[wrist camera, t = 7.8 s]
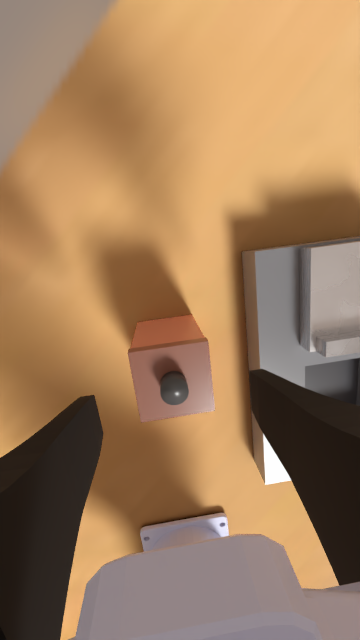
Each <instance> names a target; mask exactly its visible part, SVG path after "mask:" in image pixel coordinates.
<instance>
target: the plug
mask: <svg viewBox="0 0 360 640" xmlns="http://www.w3.org/2000/svg"><path fill="white" fill-rule="evenodd" d="M128 357H129V362H130V367H131V373H132V378H133V383H134V388H135V394H136V399H137V404H138V409H139V415H140V420H141V422H148V421H154V420H160V419H166V418H172V417H179V416H185V415H191V414H197V413H203V412H210V411H215V405H214V395H213V385H212V375H211V365H210V355H209V345H208V340H207V338H206V337H204V335H203V334H202V332H201V330H200V328H199V326H198V325H197V323H196V321H195V319H194V317H193V316H192V314H191V315H184V316H177V317H170V318H163V319H156V320H149V321H142V322H137V326H136V330H135V333H134V337H133V341H132V344H131V348H130V349H129V350H128Z"/></svg>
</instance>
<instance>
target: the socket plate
mask: <svg viewBox="0 0 360 640" xmlns="http://www.w3.org/2000/svg"><path fill="white" fill-rule="evenodd" d="M359 240H360V236H356V237H348V238H341V239H333V240H325V241H318V242H310V243H303V244H295V245H288V246H280V247H272V248H265V249H257V250H250V251H242V264H243V281H244V297H245V314H246V331H247V348H248V365H249V371H251V370H257V369H264V370H267V371H269V372H271V373H273V374H276V375H278V376H280V377H282V378H284V379H286V380H288V381H290V382H293V383H295V384H297V385H299V386H302V387H304V388H306V389H309V390H312V391H314V392H317V393H319V394H322V395H325V396H328V397H331V398H334V399H337V400H340V401H344V402H347V403H351V404H354V405H359V406H360V352H359V353H353V354H346V355H340V356H333V357H327V358H326V357H324V356H323V355H321V354H319V353H318V352H316V351H315V352H309V351H307V350H306V349H304V348H303V347H301V346H300V248H307V247H314V246H322V245H329V244H337V243H344V242H352V241H359ZM249 382H250V377H249ZM250 399H251V394H250ZM251 416H252V433H253V450H254V461H255V463H256V465H257V468H258V470H259V472H260V474H261V476H262V478H263V480H264V483H265V485H267V484H273V483H278V482H284V481H290V480H291V479H290V477H289V475H288V473H287V472H286V470H285V468H284V467H283V465H282V463H281V462H280V460H279V458H278V457H277V455H276V454H275V452H274V450H273V449H272V447H271V446H270V444H269V442H268V441H267V439H266V437H265V436H264V434H263V432H262V431H261V429H260V427H259V425H258V423H257V421H256V419H255V416H254V414H253V412H252V409H251Z"/></svg>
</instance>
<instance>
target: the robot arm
mask: <svg viewBox="0 0 360 640" xmlns="http://www.w3.org/2000/svg"><path fill="white" fill-rule="evenodd" d="M249 377H250V394H251V409H252V412H253V414H254V416H255V419H256V421H257V423H258V425H259V427H260V429H261V431H262V432H263V434H264V436H265V437H266V439H267V441H268V442H269V444H270V446H271V447H272V449H273V450H274V452H275V454H276V455H277V457H278V458H279V460H280V462H281V463H282V465H283V467H284V468H285V470H286V472H287V473H288V475H289V477H290V479H291V480H292V482H293V484H294V486H295V489H296V491H297V493H298V495H299V497H300V499H301V501H302V503H303V505H304V507H305V509H306V511H307V513H308V516H309V518H310V520H311V522H312V524H313V526H314V528H315V531H316V533H317V535H318V537H319V539H320V542H321V544H322V546H323V548H324V551H325V553H326V555H327V557H328V560H329V562H330V564H331V566H332V569H333V571H334V573H335V576H336V578H337V581H338V583H339V585H340V586H336V587H331V588H326V589H306V588H301V586H300V584H299V582H298V579H297V577H296V575H295V572H294V570H293V567H292V565H291V563H290V560H289V558H288V556H287V553H286V551H285V549H284V546H282V545H281V544H279V543H277V542H275V541H273V540H271V539H269V538H268V537H266V536H264V535H261V534H236V535H231V536H229V532H228V522H227V516H226V514H225V513H216V514H210V515H205V516H199V517H194V518H188V519H183V520H178V521H172V522H167V523H161V524H156V525H150V526H145V527H143V528H141V530H140V536H141V541H142V545H143V550H144V552H140V553H134V554H129V555H126V556H124V557H121V558H119V559H116V560H114V561H111V562H109V563H106V564H105V565H104V566H102V567H101V568H100V569H99V570H98V572H97V573H96V574H95V575H94V576H93V577H92V578H91V579H90V580H89V582H88V583H87V585H86V589H85V594H84V599H83V604H82V608H81V613H80V618H79V622H78V627H77V632H76V636H75V637H73V638H71V639H69V640H360V406H359V405H354V404H351V403H347V402H344V401H340V400H337V399H334V398H331V397H328V396H325V395H322V394H319V393H317V392H314V391H312V390H309V389H306V388H304V387H302V386H299V385H297V384H295V383H293V382H290V381H288V380H286V379H284V378H282V377H280V376H278V375H276V374H273V373H271V372H269V371H267V370H264V369H257V370H251V371H249ZM102 439H103V429H102V425H101V421H100V417H99V413H98V409H97V405H96V401H95V396H94V395H90V396H84V397H80V398H78V399H77V400H76V401H74V402H73V403H72V404H71V405H69V406H68V407H67V408H66V409H65V410H64V411H62V412H61V413H60V414H59V415H58V416H56V417H55V418H54V419H53V420H52V421H51V422H49V423H48V424H47V425H46V426H44V427H43V428H42V429H40V430H39V431H38V432H37V433H35V434H34V435H33V436H31V437H30V438H29V439H28V440H26V441H25V442H23V443H22V444H21V445H19V446H18V447H16V448H15V449H13V450H12V451H10V452H9V453H7V454H6V455H4V456H3V457H1V458H0V640H60V636H61V629H62V622H63V616H64V610H65V603H66V597H67V591H68V585H69V579H70V573H71V568H72V562H73V557H74V551H75V546H76V541H77V536H78V531H79V526H80V521H81V517H82V513H83V509H84V506H85V502H86V499H87V496H88V493H89V489H90V486H91V483H92V479H93V476H94V473H95V470H96V466H97V463H98V459H99V456H100V451H101V445H102Z"/></svg>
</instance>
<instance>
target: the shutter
mask: <svg viewBox="0 0 360 640" xmlns="http://www.w3.org/2000/svg"><path fill="white" fill-rule="evenodd" d="M300 346H301V347H303V348H304V349H306V350H307V351H309V352H315V351H316V352H318V353H319V354H321V355H323V356H324V357H326V358H327V357H333V356H340V355H346V354H353V353H359V352H360V240H359V241H352V242H344V243H337V244H329V245H322V246H314V247H307V248H300Z"/></svg>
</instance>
